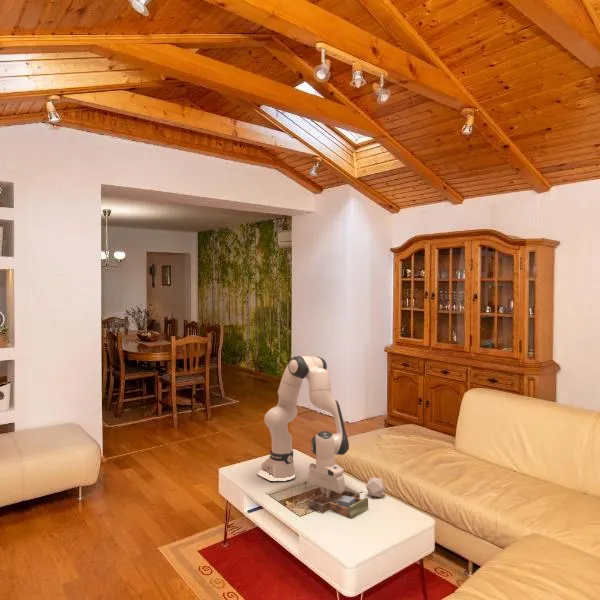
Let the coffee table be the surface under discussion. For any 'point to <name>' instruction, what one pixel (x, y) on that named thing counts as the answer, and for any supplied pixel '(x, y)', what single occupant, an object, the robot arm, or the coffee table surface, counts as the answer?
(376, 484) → the die
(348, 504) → the block
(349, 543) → the coffee table surface
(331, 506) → the box
